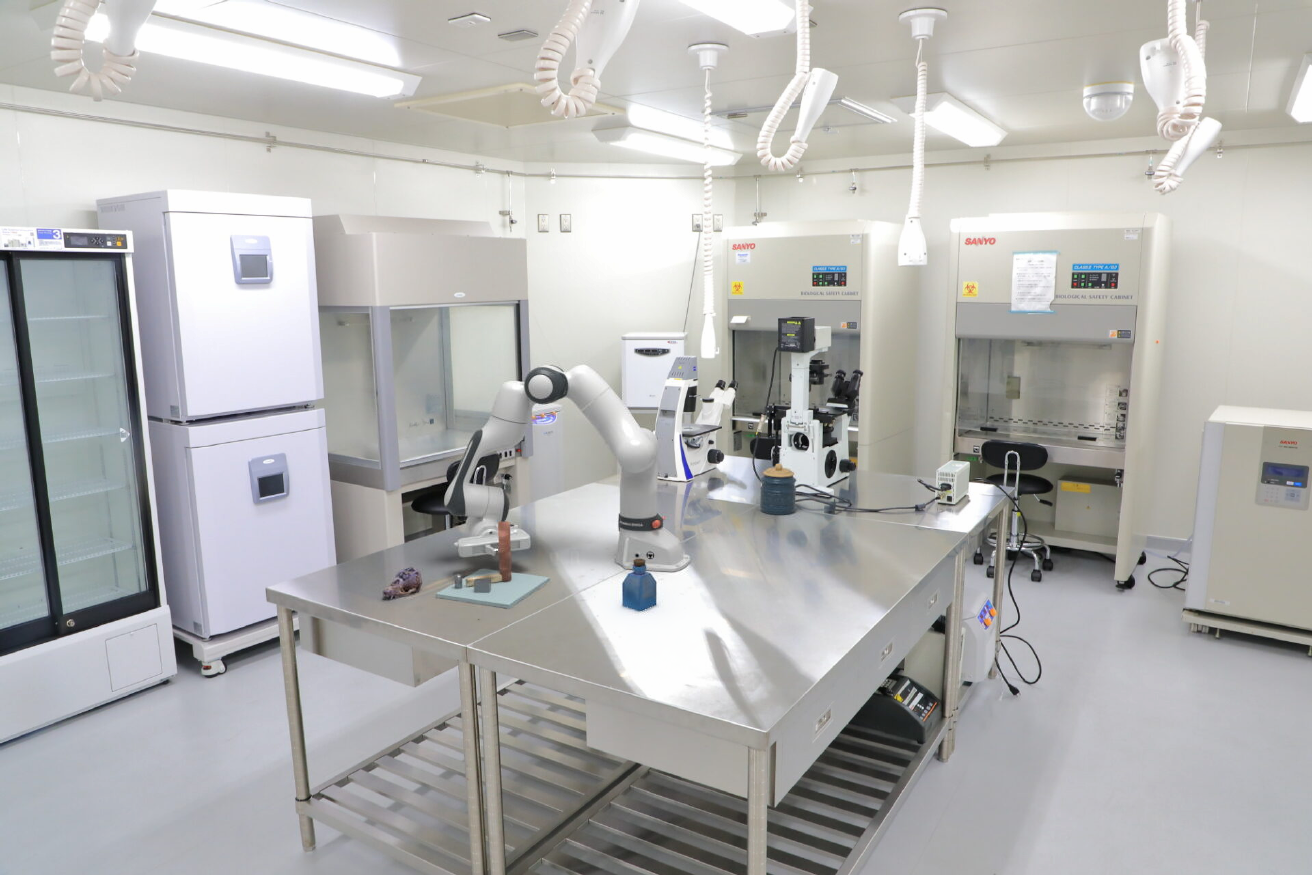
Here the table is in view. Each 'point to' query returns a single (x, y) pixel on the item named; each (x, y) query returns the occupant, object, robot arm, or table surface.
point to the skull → (404, 583)
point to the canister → (778, 491)
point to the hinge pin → (458, 581)
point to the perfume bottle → (639, 588)
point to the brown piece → (500, 557)
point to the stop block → (482, 585)
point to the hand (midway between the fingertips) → (500, 552)
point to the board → (496, 589)
